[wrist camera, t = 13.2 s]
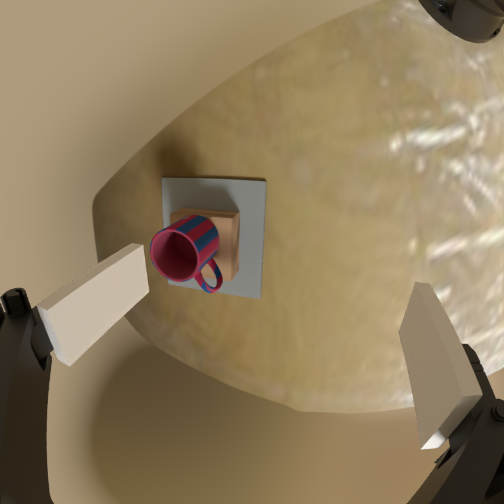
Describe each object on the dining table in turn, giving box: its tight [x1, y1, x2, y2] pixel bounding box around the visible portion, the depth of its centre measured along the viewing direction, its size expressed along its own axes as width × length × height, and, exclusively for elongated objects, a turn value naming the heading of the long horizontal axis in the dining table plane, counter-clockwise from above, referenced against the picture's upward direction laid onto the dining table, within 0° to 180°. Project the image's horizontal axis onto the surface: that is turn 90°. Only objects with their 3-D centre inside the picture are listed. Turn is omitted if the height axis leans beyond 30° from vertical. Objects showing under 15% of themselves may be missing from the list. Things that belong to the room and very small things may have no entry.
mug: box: [150, 215, 223, 293], centre depth 36 cm, size 7×10×7 cm
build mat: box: [162, 177, 266, 299], centre depth 43 cm, size 18×16×1 cm
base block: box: [170, 208, 240, 282], centre depth 41 cm, size 9×9×4 cm
